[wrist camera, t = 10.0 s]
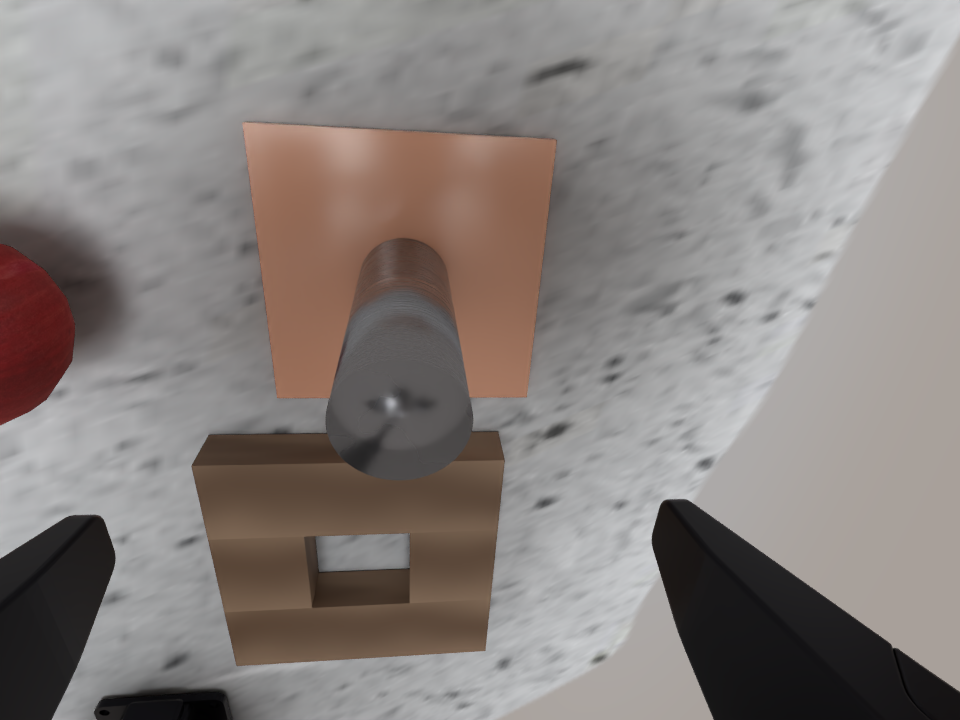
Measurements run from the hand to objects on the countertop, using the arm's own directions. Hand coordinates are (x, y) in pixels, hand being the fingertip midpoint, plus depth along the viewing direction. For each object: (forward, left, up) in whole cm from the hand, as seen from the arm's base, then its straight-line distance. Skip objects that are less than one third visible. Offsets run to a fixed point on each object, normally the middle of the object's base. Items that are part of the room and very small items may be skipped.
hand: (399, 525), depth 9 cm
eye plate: (-13, +2, -13) cm, 18 cm away
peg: (0, 0, -12) cm, 12 cm away
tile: (0, 0, -13) cm, 13 cm away
